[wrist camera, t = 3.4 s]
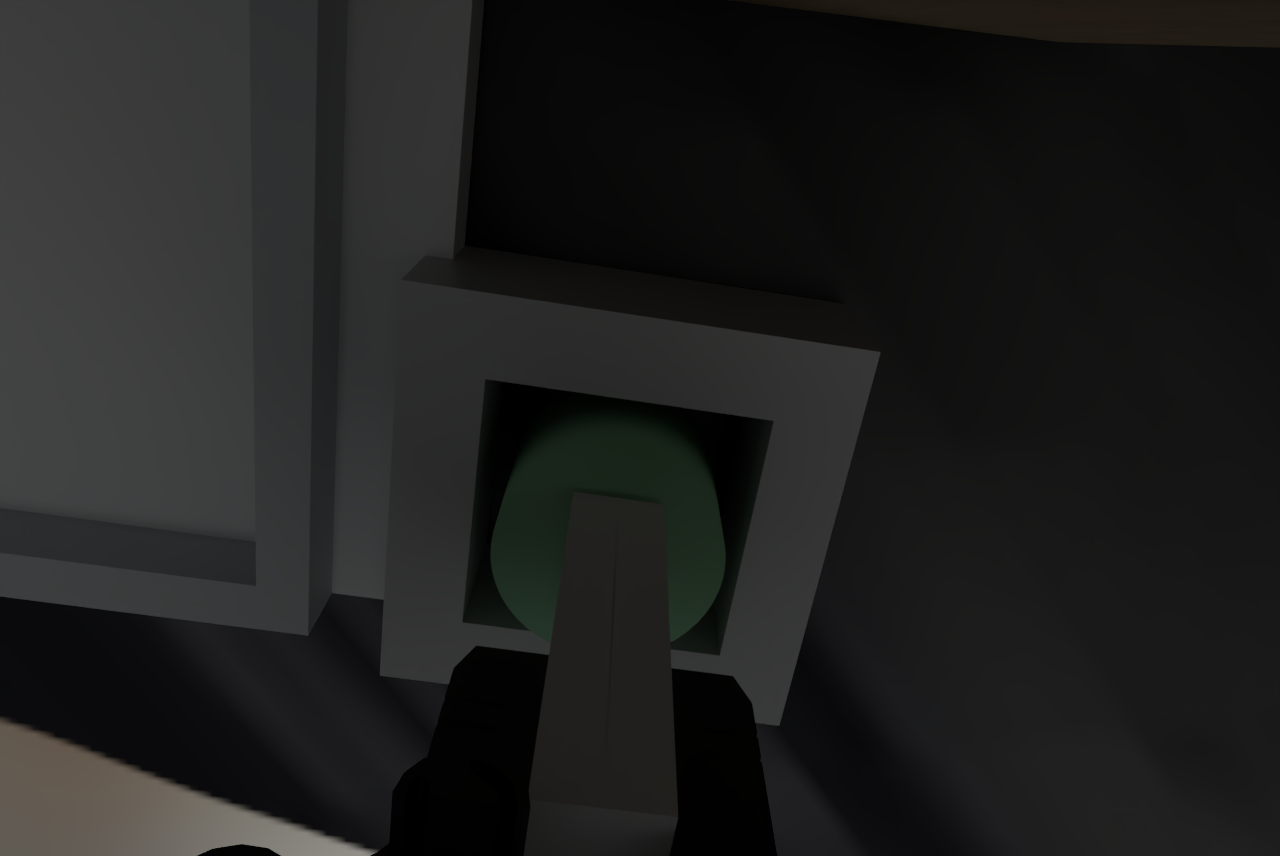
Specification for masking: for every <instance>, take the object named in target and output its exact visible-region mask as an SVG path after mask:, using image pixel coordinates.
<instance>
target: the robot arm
mask: <svg viewBox="0 0 1280 856" xmlns="http://www.w3.org/2000/svg"><path fill="white" fill-rule="evenodd" d="M756 735H757V730H756V724H755V718H754V712H753V706H752V702H751V701H750V699H749V698H748V697H747V695H746V694H745V692H744V691H743V689H742V688H741V687H740V685H739V684H738V682H737V681H736V679H735V678H734V677H733V676H729V675H721V674H714V673H706V672H698V671H690V670H683V669H675V668H671V647H670V625H669V603H668V581H667V559H666V537H665V515H664V504H658V503H651V502H644V501H637V500H630V499H622V498H615V497H608V496H601V495H594V494H586V493H579V492H573V498H572V505H571V512H570V518H569V525H568V532H567V538H566V545H565V552H564V558H563V565H562V572H561V578H560V585H559V591H558V598H557V605H556V611H555V618H554V625H553V631H552V638H551V645H550V651H549V655H546V654H538V653H530V652H523V651H515V650H507V649H499V648H491V647H484V646H475V647H474V648H473V649H472V650H471V651H470V652H469V653H468V654H467V655H466V656H465V657H464V658H463V659H462V660H461V661H460V662H459V663H458V664H457V665H456V666H455V667H454V669H453V672H452V675H451V679H450V682H449V685H448V689H447V692H446V695H445V701H444V702H443V705H442V709H441V712H440V716H439V719H438V725H437V726H436V729H435V732H434V736H433V739H432V742H431V746H430V749H429V753H428V756H427V758H424V759H422V760H421V761H420V762H418V763H417V764H415V765H414V766H413V767H411V768H410V769H409V770H407V771H406V772H404V774H403V775H402V777H401V779H400V780H399V782H398V784H397V785H396V787H395V789H394V790H393V795H392V811H391V826H390V842H389V844H388V845H386V846H385V847H384V848H382V849H381V850H380V851H378V852H377V853H375V854H373V855H371V856H777V852H776V846H775V840H774V834H773V828H772V822H771V816H770V810H769V803H768V797H767V791H766V785H765V779H764V773H763V767H762V763H761V762H760V758H761V755H760V748H759V742H758V738H756ZM198 856H280V855H278V854H277V853H275V852H273V851H272V850H270V849H268V848H263V847H256V846H249V845H243V844H241V845H234V846H228V847H221V848H215V849H211V850H209V851H207V852H205V853H202V854H200V855H198Z"/></svg>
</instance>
